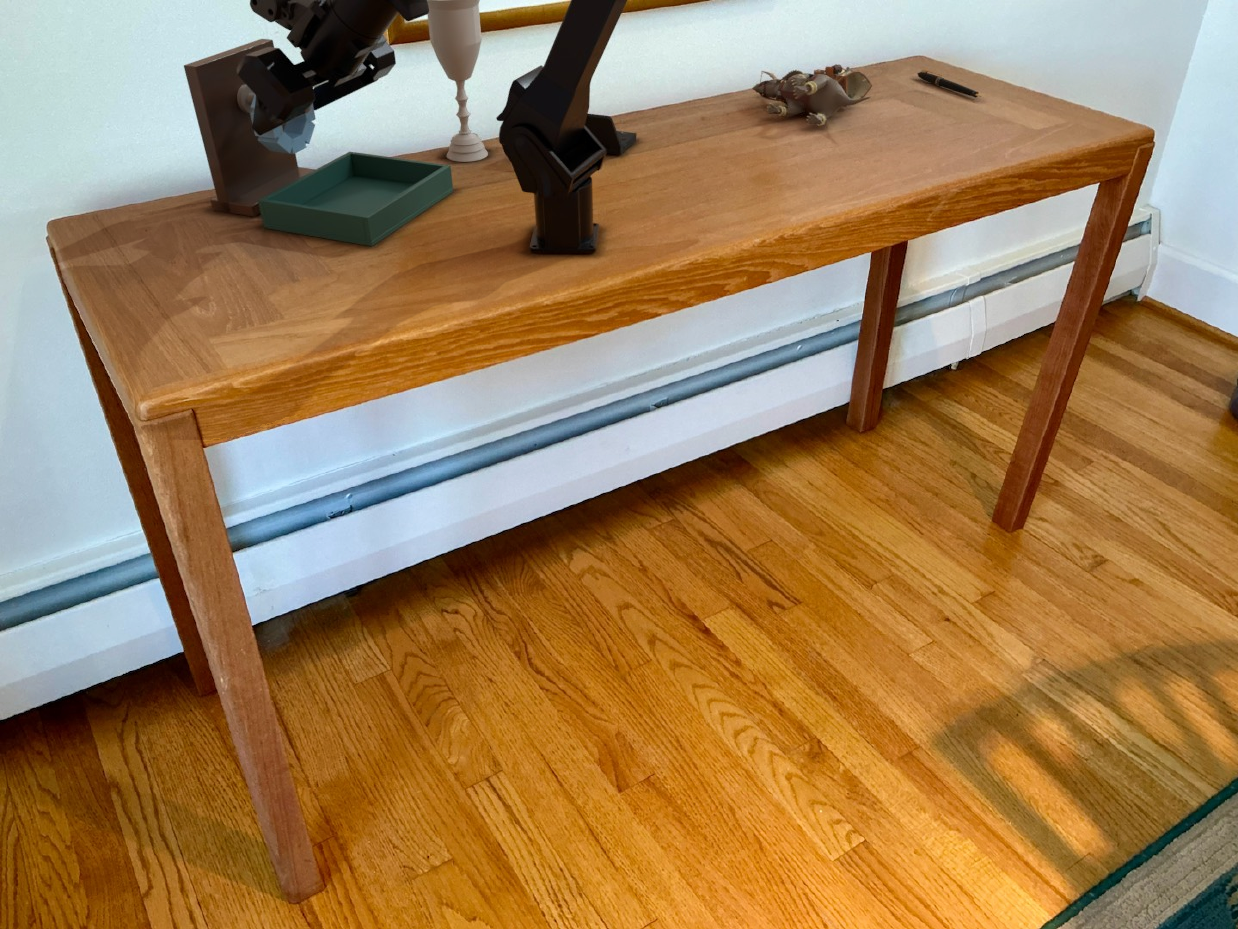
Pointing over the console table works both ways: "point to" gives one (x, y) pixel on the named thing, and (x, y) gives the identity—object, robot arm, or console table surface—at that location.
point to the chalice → (458, 63)
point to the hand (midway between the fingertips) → (285, 118)
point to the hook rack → (236, 134)
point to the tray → (357, 198)
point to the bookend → (609, 134)
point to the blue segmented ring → (289, 133)
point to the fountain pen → (947, 83)
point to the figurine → (815, 92)
